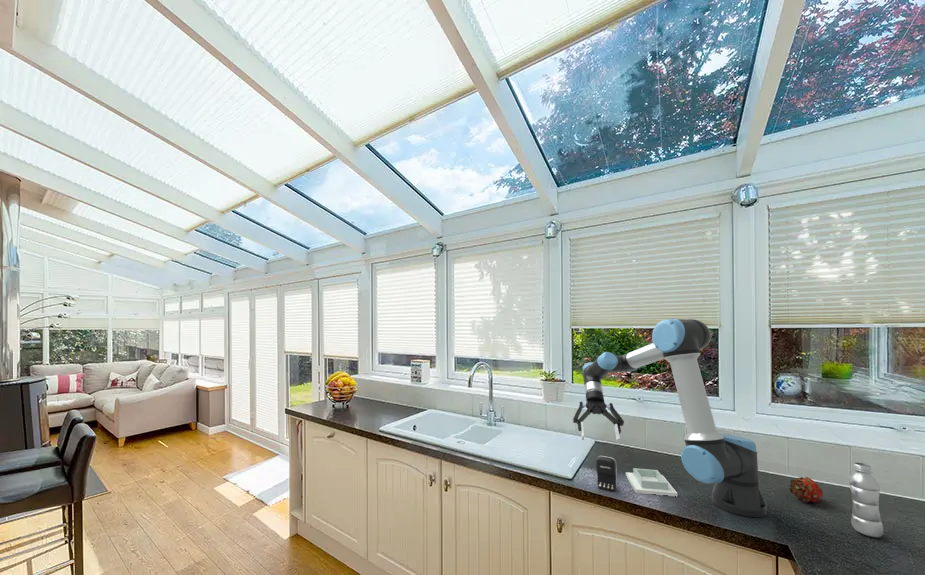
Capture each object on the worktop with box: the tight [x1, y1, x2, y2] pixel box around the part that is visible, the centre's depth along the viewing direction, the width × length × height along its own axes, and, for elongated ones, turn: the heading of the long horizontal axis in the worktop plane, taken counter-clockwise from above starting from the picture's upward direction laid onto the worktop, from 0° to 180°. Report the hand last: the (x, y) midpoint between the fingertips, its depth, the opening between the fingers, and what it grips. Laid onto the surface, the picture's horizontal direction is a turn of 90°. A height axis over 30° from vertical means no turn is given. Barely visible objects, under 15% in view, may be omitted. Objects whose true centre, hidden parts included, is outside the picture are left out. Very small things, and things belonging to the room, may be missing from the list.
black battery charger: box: [595, 455, 618, 492], centre depth 140 cm, size 7×4×11 cm, turn 58°
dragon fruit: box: [788, 476, 823, 504], centre depth 132 cm, size 8×8×12 cm
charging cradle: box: [625, 467, 679, 498], centre depth 143 cm, size 14×16×4 cm
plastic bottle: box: [848, 461, 884, 538], centre depth 112 cm, size 6×7×20 cm
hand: (600, 439), depth 151 cm, fingers open, 13 cm apart
